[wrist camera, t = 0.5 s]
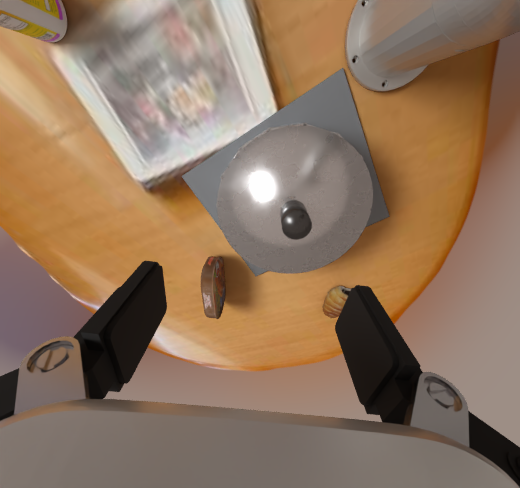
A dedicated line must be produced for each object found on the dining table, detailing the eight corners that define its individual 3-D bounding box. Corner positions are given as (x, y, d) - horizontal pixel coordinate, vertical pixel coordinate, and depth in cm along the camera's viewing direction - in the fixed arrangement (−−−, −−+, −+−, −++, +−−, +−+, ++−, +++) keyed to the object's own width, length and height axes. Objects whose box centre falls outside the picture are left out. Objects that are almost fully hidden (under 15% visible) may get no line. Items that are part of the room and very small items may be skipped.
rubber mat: (342, 68, 31) (342, 67, 30) (388, 215, 41) (389, 216, 41) (182, 175, 39) (181, 176, 39) (255, 275, 50) (255, 276, 49)
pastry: (338, 315, 56) (342, 327, 53) (314, 307, 55) (317, 319, 52) (358, 290, 51) (365, 301, 48) (334, 281, 50) (338, 292, 47)
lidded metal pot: (325, 89, 32) (355, 73, 20) (371, 219, 42) (409, 255, 30) (199, 172, 38) (170, 194, 27) (265, 267, 48) (264, 311, 37)
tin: (226, 299, 54) (219, 327, 47) (213, 299, 54) (205, 326, 47) (223, 249, 47) (214, 272, 39) (208, 248, 47) (197, 272, 39)
